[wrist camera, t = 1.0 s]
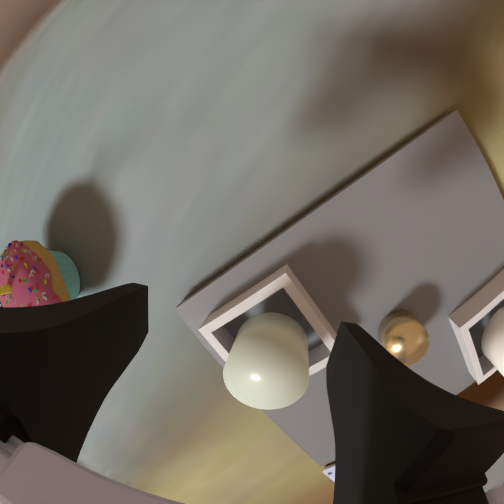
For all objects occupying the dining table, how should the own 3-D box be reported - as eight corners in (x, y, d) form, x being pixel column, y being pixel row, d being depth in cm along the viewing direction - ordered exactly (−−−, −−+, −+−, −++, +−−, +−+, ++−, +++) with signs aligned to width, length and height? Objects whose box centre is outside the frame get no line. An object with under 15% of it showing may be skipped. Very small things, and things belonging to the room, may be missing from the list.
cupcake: (32, 226, 23) (-68, 254, 11) (96, 236, 22) (-24, 277, 10) (40, 309, 25) (-43, 358, 13) (102, 330, 24) (13, 404, 12)
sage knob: (321, 352, 18) (325, 387, 14) (263, 383, 19) (256, 419, 15) (280, 298, 17) (276, 326, 14) (222, 335, 18) (206, 366, 15)
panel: (528, 319, 18) (549, 334, 15) (320, 454, 24) (320, 481, 20) (447, 113, 16) (471, 103, 13) (181, 301, 22) (163, 321, 19)
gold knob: (422, 331, 18) (435, 349, 16) (388, 355, 19) (397, 374, 17) (407, 301, 18) (419, 316, 16) (370, 325, 19) (378, 343, 16)
